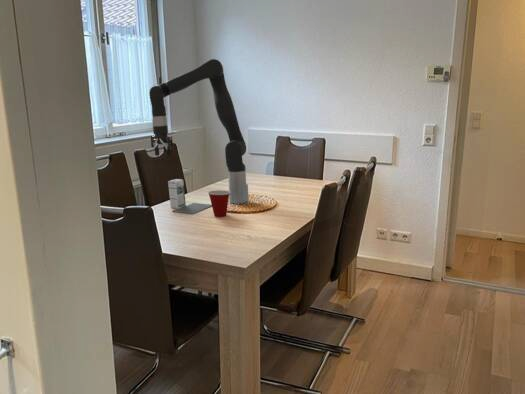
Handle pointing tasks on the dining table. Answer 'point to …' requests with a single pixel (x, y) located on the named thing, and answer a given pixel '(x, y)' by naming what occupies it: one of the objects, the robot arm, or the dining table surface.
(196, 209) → the charcoal placemat
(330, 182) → the dining table surface
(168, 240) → the dining table surface
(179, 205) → the syrup box
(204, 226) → the dining table surface
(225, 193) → the plastic cup
